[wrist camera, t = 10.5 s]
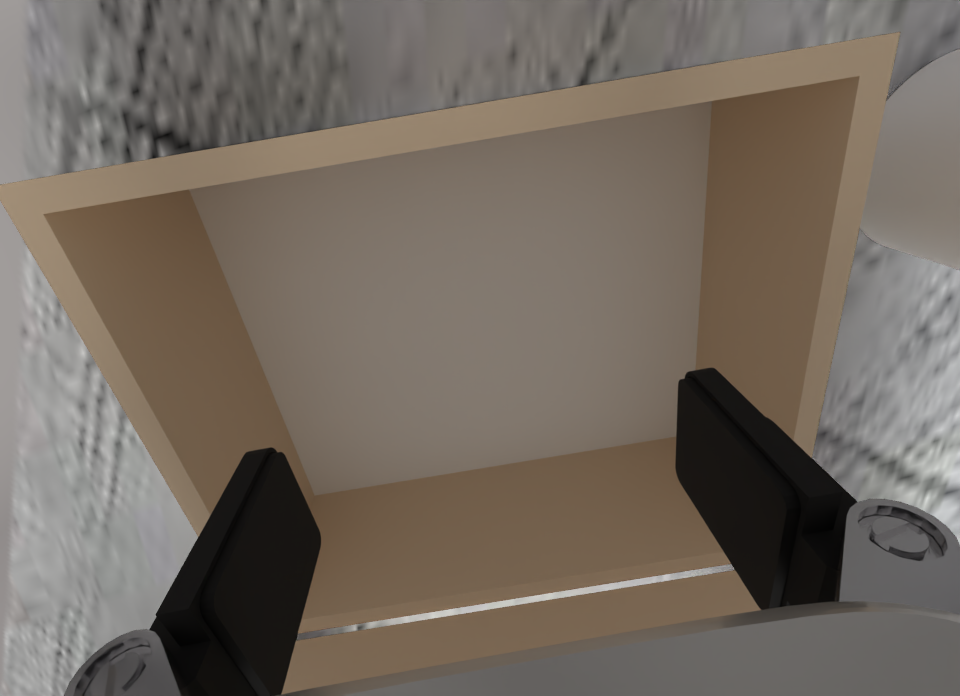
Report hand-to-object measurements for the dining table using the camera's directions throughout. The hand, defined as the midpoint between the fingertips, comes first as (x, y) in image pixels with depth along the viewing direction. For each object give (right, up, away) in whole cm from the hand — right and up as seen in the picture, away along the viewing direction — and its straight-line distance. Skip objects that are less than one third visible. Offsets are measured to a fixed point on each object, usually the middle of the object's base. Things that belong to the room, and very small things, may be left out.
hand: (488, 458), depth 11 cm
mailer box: (0, +4, +11) cm, 12 cm away
